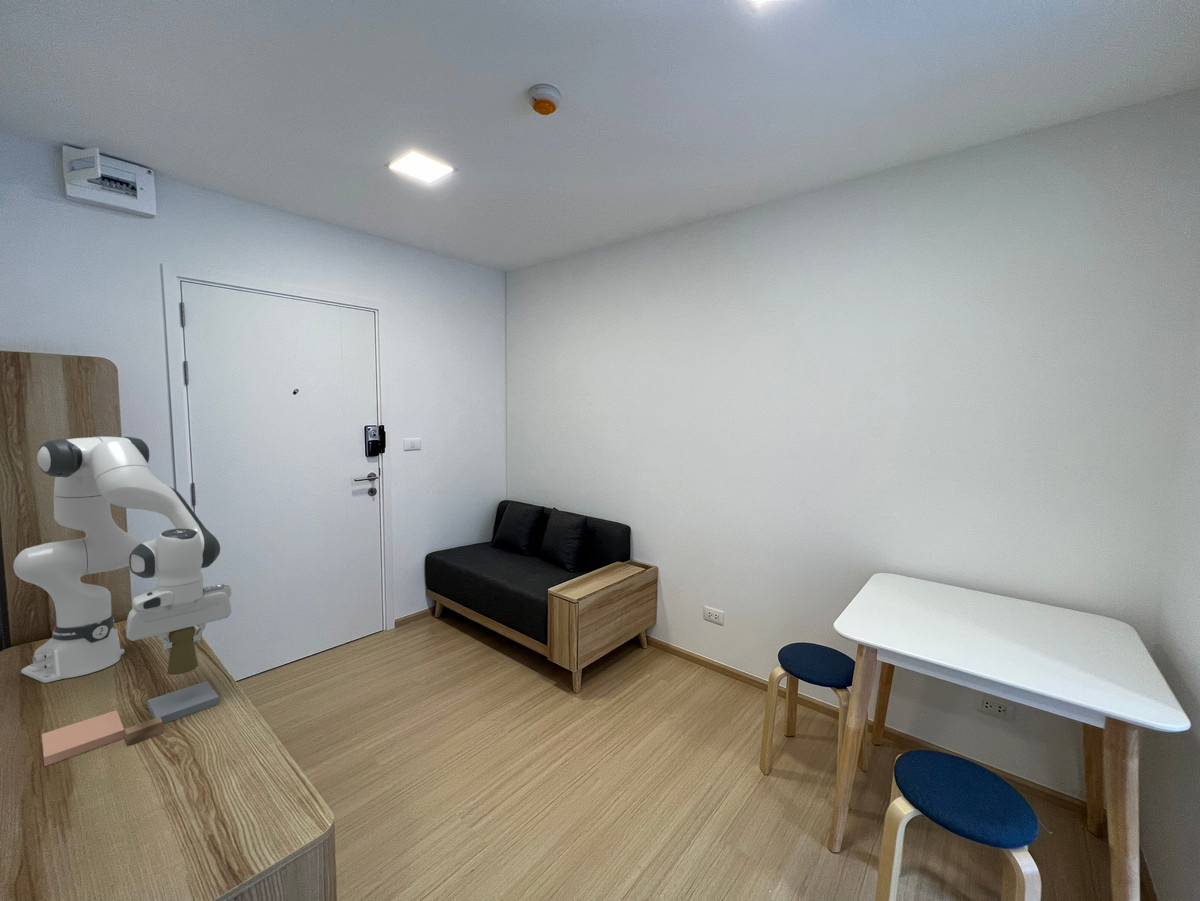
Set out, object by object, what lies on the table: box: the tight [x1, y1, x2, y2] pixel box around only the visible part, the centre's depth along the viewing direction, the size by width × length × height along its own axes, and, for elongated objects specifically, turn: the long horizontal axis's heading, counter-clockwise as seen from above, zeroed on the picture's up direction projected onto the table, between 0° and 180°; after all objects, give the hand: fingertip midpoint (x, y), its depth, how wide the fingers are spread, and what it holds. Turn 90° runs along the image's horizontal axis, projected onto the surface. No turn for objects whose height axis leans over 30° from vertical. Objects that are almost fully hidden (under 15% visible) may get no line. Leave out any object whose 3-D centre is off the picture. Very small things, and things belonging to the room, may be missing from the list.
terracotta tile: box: [41, 709, 125, 767], centre depth 108 cm, size 12×12×2 cm
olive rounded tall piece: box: [166, 626, 199, 676], centre depth 121 cm, size 6×6×11 cm
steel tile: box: [147, 680, 220, 725], centre depth 121 cm, size 12×12×2 cm
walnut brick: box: [124, 717, 164, 747], centre depth 109 cm, size 6×3×3 cm, turn 142°
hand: (182, 644), depth 121 cm, fingers closed on olive rounded tall piece, 4 cm apart
